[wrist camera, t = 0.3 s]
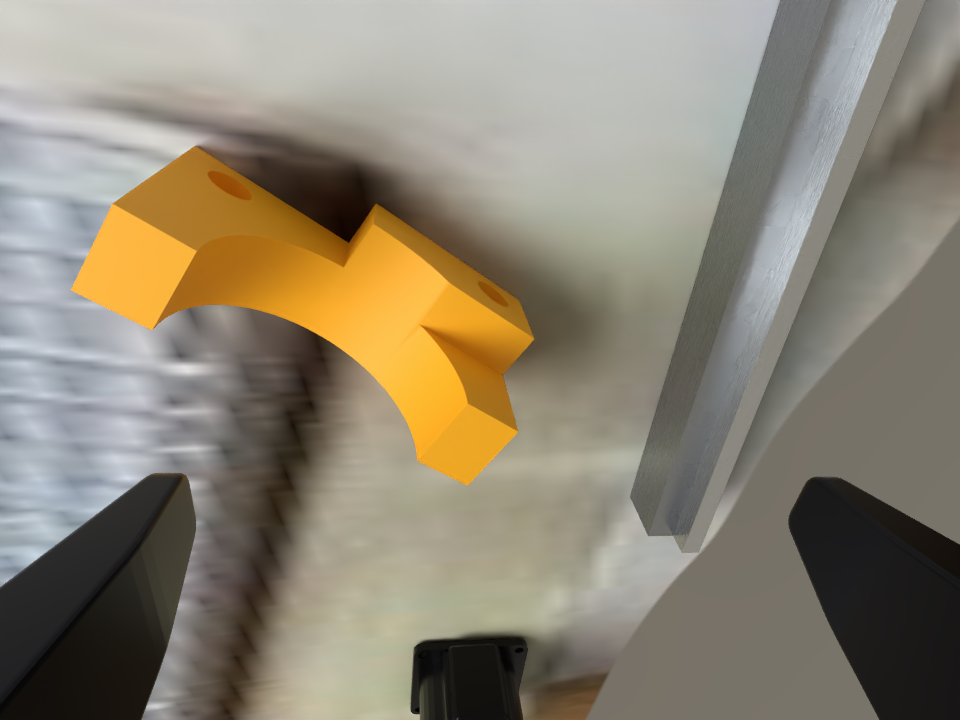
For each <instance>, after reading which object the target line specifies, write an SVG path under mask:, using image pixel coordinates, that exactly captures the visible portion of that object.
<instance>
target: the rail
mask: <svg viewBox="0 0 960 720" xmlns="http://www.w3.org/2000/svg"><path fill="white" fill-rule="evenodd" d="M924 2H925V0H780V4H779V7H778V10H777V14H776V17H775V20H774V23H773V27H772V30H771V33H770V37H769V40H768V43H767V47H766V50H765V53H764V57H763V60H762V63H761V66H760V70H759V73H758V76H757V80H756V83H755V86H754V90H753V93H752V96H751V99H750V103H749V106H748V109H747V113H746V116H745V119H744V123H743V126H742V129H741V133H740V136H739V139H738V142H737V146H736V149H735V152H734V156H733V159H732V162H731V166H730V169H729V172H728V175H727V179H726V182H725V185H724V189H723V192H722V195H721V199H720V202H719V205H718V209H717V212H716V215H715V218H714V222H713V225H712V228H711V232H710V235H709V238H708V242H707V245H706V248H705V251H704V255H703V258H702V261H701V265H700V268H699V271H698V275H697V278H696V281H695V285H694V288H693V291H692V294H691V298H690V301H689V304H688V308H687V311H686V314H685V318H684V321H683V324H682V327H681V331H680V334H679V337H678V341H677V344H676V347H675V351H674V354H673V357H672V361H671V364H670V367H669V370H668V374H667V377H666V380H665V384H664V387H663V390H662V394H661V397H660V400H659V403H658V407H657V410H656V413H655V417H654V420H653V423H652V427H651V430H650V433H649V437H648V440H647V443H646V446H645V450H644V453H643V456H642V460H641V463H640V466H639V470H638V473H637V476H636V479H635V483H634V486H633V489H632V493H631V496H630V498H631V500H632V502H633V504H634V506H635V508H636V511H637V513H638V515H639V517H640V519H641V521H642V523H643V526H644V528H645V530H646V532H647V534H648V536H674V538H675V540H676V542H677V544H678V546H679V548H680V550H681V552H682V553H692V552H699V550H700V548H701V545H702V543H703V541H704V538H705V536H706V533H707V531H708V528H709V526H710V524H711V521H712V519H713V516H714V514H715V511H716V509H717V507H718V504H719V502H720V499H721V497H722V494H723V492H724V489H725V487H726V485H727V482H728V480H729V477H730V475H731V472H732V470H733V468H734V465H735V463H736V460H737V458H738V455H739V453H740V450H741V448H742V446H743V443H744V441H745V438H746V436H747V433H748V431H749V429H750V426H751V424H752V421H753V419H754V416H755V414H756V412H757V409H758V407H759V404H760V402H761V399H762V397H763V394H764V392H765V390H766V387H767V385H768V382H769V380H770V377H771V375H772V373H773V370H774V368H775V365H776V363H777V360H778V358H779V356H780V353H781V351H782V348H783V346H784V343H785V341H786V338H787V336H788V334H789V331H790V329H791V326H792V324H793V321H794V319H795V317H796V314H797V312H798V309H799V307H800V304H801V302H802V300H803V297H804V295H805V292H806V290H807V287H808V285H809V282H810V280H811V278H812V275H813V273H814V270H815V268H816V265H817V263H818V261H819V258H820V256H821V253H822V251H823V248H824V246H825V244H826V241H827V239H828V236H829V234H830V231H831V229H832V226H833V224H834V222H835V219H836V217H837V214H838V212H839V209H840V207H841V205H842V202H843V200H844V197H845V195H846V192H847V190H848V187H849V185H850V183H851V180H852V178H853V175H854V173H855V170H856V168H857V166H858V163H859V161H860V158H861V156H862V153H863V151H864V149H865V146H866V144H867V141H868V139H869V136H870V134H871V131H872V129H873V127H874V124H875V122H876V119H877V117H878V114H879V112H880V110H881V107H882V105H883V102H884V100H885V97H886V95H887V93H888V90H889V88H890V85H891V83H892V80H893V78H894V75H895V73H896V71H897V68H898V66H899V63H900V61H901V58H902V56H903V54H904V51H905V49H906V46H907V44H908V41H909V39H910V37H911V34H912V32H913V29H914V27H915V24H916V22H917V19H918V17H919V15H920V12H921V10H922V7H923V5H924Z"/></svg>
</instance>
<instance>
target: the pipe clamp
mask: <svg viewBox="0 0 960 720" xmlns="http://www.w3.org/2000/svg"><path fill="white" fill-rule="evenodd" d="M71 291H73V292H75V293H77V294H79V295H81V296H83V297H85V298H87V299H89V300H91V301H93V302H95V303H97V304H99V305H101V306H104V307H106V308H108V309H110V310H112V311H114V312H116V313H118V314H120V315H122V316H124V317H126V318H128V319H130V320H132V321H134V322H136V323H138V324H140V325H142V326H144V327H146V328H148V329H150V330H153V329H154V328H155V327H156V326H157V325H158V323H160V322H161V321H162V320H164V319H165V318H166V317H168V316H170V315H172V314H174V313H175V312H178V311H181V310H184V309H186V308H191V307H195V306H202V305H233V306H240V307H246V308H251V309H256V310H260V311H263V312H267V313H270V314H274V315H276V316H279V317H282V318H285V319H287V320H290V321H292V322H294V323H297V324H299V325H301V326H303V327H305V328H307V329H309V330H311V331H313V332H315V333H316V334H318V335H320V336H322V337H323V338H325V339H327V340H328V341H330V342H332V343H333V344H335V345H336V346H337V347H339V348H340V349H342V350H343V351H345V352H346V353H347V354H348V355H350V356H351V357H352V358H354V359H355V360H356V361H357V362H358V363H360V364H361V365H362V366H363V367H364V368H365V369H366V370H367V371H368V372H369V373H370V374H372V375H373V376H374V378H375V379H376V380H377V381H378V382H379V383H380V384H381V385H382V386H383V387H384V389H385V390H386V391H387V392H388V393H389V395H390V396H391V397H392V399H393V400H394V401H395V403H396V404H397V406H398V408H399V409H400V411H401V412H402V414H403V416H404V418H405V420H406V421H407V424H408V426H409V428H410V430H411V433H412V436H413V439H414V442H415V447H416V451H417V460H418V462H420V463H423V464H425V465H427V466H429V467H431V468H433V469H435V470H437V471H439V472H441V473H443V474H445V475H447V476H449V477H451V478H453V479H455V480H457V481H459V482H461V483H463V484H465V485H467V486H468V485H469V484H470V482H471V481H472V480H473V479H474V478H475V477H476V476H477V475H478V474H479V473H480V472H481V471H482V470H483V469H484V468H485V467H486V466H487V464H488V463H489V462H490V461H491V460H492V459H493V458H494V457H495V456H496V455H497V454H498V453H499V452H500V451H501V450H502V449H503V448H504V446H505V445H506V444H507V443H508V442H509V441H510V440H511V439H512V438H513V437H514V436H515V435H516V434H517V433H518V429H517V425H516V422H515V418H514V414H513V411H512V407H511V403H510V400H509V396H508V392H507V389H506V385H505V382H504V378H503V374H504V373H505V372H506V371H507V369H508V368H509V367H510V366H511V365H512V364H513V363H514V362H515V360H516V359H517V358H518V357H519V356H520V355H521V354H522V353H523V351H524V350H525V349H526V348H527V347H528V346H529V345H530V343H531V342H532V341H533V340H534V336H533V334H532V331H531V329H530V326H529V324H528V321H527V319H526V316H525V314H524V311H523V309H522V306H521V304H520V301H519V300H518V299H516V298H515V297H513V296H512V295H511V294H509V293H508V292H506V291H505V290H503V289H502V288H500V287H499V286H497V285H496V284H494V283H493V282H491V281H490V280H488V279H487V278H486V277H484V276H483V275H481V274H480V273H478V272H477V271H475V270H474V269H472V268H471V267H469V266H468V265H466V264H465V263H463V262H462V261H461V260H459V259H458V258H456V257H455V256H453V255H452V254H450V253H449V252H447V251H446V250H444V249H443V248H441V247H440V246H438V245H437V244H436V243H434V242H433V241H431V240H430V239H428V238H427V237H425V236H424V235H422V234H421V233H419V232H418V231H416V230H415V229H413V228H412V227H411V226H409V225H408V224H406V223H405V222H403V221H402V220H400V219H399V218H397V217H396V216H394V215H393V214H391V213H390V212H388V211H387V210H386V209H384V208H383V207H381V206H380V205H378V204H377V203H376V204H375V205H374V207H373V208H372V210H371V211H370V213H369V214H368V216H367V217H366V219H365V220H364V222H363V223H362V225H361V226H360V228H359V229H358V230H357V232H356V233H355V235H354V236H353V238H352V239H351V241H350V242H349V243H348V242H346V241H345V240H343V239H342V238H340V237H338V236H337V235H335V234H334V233H332V232H331V231H329V230H327V229H326V228H324V227H323V226H321V225H320V224H318V223H316V222H315V221H313V220H312V219H310V218H309V217H307V216H305V215H304V214H302V213H301V212H299V211H297V210H296V209H294V208H293V207H291V206H290V205H288V204H286V203H285V202H283V201H282V200H280V199H279V198H277V197H275V196H274V195H272V194H271V193H269V192H268V191H266V190H264V189H263V188H261V187H260V186H258V185H257V184H255V183H253V182H252V181H250V180H249V179H247V178H245V177H244V176H242V175H241V174H239V173H238V172H236V171H234V170H233V169H231V168H230V167H228V166H227V165H225V164H223V163H222V162H220V161H219V160H217V159H216V158H214V157H212V156H211V155H209V154H208V153H206V152H204V151H203V150H201V149H200V148H198V147H197V146H194V147H193V148H191V149H190V150H189V151H187V152H186V153H184V154H183V155H181V156H180V157H179V158H177V159H176V160H174V161H173V162H171V163H170V164H169V165H167V166H166V167H164V168H163V169H161V170H160V171H159V172H157V173H156V174H154V175H153V176H151V177H150V178H149V179H147V180H146V181H144V182H143V183H141V184H140V185H139V186H137V187H136V188H134V189H133V190H131V191H130V192H129V193H127V194H126V195H124V196H123V197H121V198H120V199H119V200H117V201H116V202H114V203H113V204H112V206H111V208H110V210H109V212H108V214H107V216H106V218H105V220H104V223H103V225H102V227H101V229H100V231H99V233H98V235H97V237H96V239H95V241H94V243H93V245H92V247H91V249H90V252H89V254H88V256H87V258H86V260H85V262H84V264H83V266H82V268H81V270H80V272H79V274H78V276H77V278H76V281H75V283H74V285H73V287H72V289H71Z"/></svg>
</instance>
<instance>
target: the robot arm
mask: <svg viewBox="0 0 960 720" xmlns="http://www.w3.org/2000/svg"><path fill="white" fill-rule="evenodd" d="M788 521H789V529H790V532H791V535H792V537H793V539H794V542H795V544H796V547H797V549H798V551H799V554H800V556H801V559H802V561H803V563H804V566H805V568H806V571H807V573H808V575H809V578H810V580H811V583H812V585H813V587H814V590H815V592H816V595H817V597H818V599H819V601H820V604H821V606H822V609H823V611H824V613H825V616H826V618H827V620H828V622H829V624H830V626H831V628H832V630H833V632H834V634H835V636H836V638H837V640H838V642H839V644H840V646H841V648H842V650H843V652H844V654H845V656H846V657H847V659H848V661H849V663H850V665H851V667H852V668H853V670H854V673H855V674H856V676H857V678H858V680H859V682H860V684H861V685H862V688H863V689H864V691H865V693H866V695H867V697H868V699H869V701H870V703H871V704H872V707H873V708H874V710H875V712H876V714H877V716H878V718H879V720H960V545H959V544H958V543H956V542H954V541H952V540H950V539H949V538H946V537H945V536H943V535H942V534H940V533H938V532H936V531H934V530H933V529H931V528H929V527H927V526H925V525H924V524H922V523H920V522H918V521H916V520H915V519H913V518H911V517H909V516H908V515H906V514H904V513H902V512H901V511H899V510H897V509H895V508H893V507H892V506H890V505H888V504H886V503H884V502H882V501H881V500H879V499H877V498H875V497H874V496H872V495H870V494H868V493H867V492H865V491H863V490H861V489H859V488H857V487H856V486H854V485H852V484H851V483H849V482H847V481H845V480H843V479H841V478H838V477H813V478H811V479H809V480H808V481H807V482H806V484H805V485H804V487H803V489H802V491H801V493H800V495H799V497H798V499H797V501H796V503H795V504H794V507H793V508H792V510H791V512H790V515H789V520H788ZM195 532H196V516H195V511H194V506H193V500H192V495H191V490H190V484H189V480H188V478H187V477H186V476H185V475H184V474H181V473H154V474H151V475H149V476H147V477H145V478H144V479H143V480H141V481H140V482H139V483H138V484H136V485H135V486H134V487H132V488H131V489H130V490H128V491H127V492H126V493H124V494H123V495H122V496H120V497H119V498H118V499H116V500H115V501H114V502H112V503H111V504H110V505H108V506H107V507H106V508H104V509H103V510H102V511H100V512H99V513H98V514H96V515H95V516H94V517H93V518H91V519H90V520H89V521H87V522H86V523H85V524H83V525H82V526H81V527H79V528H78V529H77V530H75V531H74V532H73V533H71V534H70V535H69V536H67V537H66V538H65V539H63V540H62V541H61V542H59V543H58V544H57V545H55V546H54V547H53V548H51V549H50V550H49V551H48V552H46V553H45V554H44V555H42V556H41V557H40V558H38V559H37V560H36V561H34V562H33V563H32V564H30V565H29V566H28V567H26V568H25V569H24V570H22V571H21V572H20V573H18V574H17V575H16V576H14V577H13V578H12V579H10V580H9V581H8V582H6V583H5V584H4V585H3V586H1V587H0V720H141V719H142V717H143V714H144V711H145V709H146V706H147V703H148V700H149V698H150V695H151V692H152V690H153V687H154V684H155V681H156V679H157V676H158V673H159V671H160V668H161V665H162V662H163V659H164V656H165V653H166V650H167V647H168V643H169V639H170V635H171V632H172V628H173V624H174V619H175V615H176V611H177V607H178V603H179V599H180V595H181V591H182V587H183V583H184V578H185V574H186V570H187V566H188V562H189V558H190V554H191V550H192V546H193V542H194V537H195ZM527 651H528V648H527V642H526V641H525V640H524V639H500V640H481V641H462V642H442V643H423V644H419V645H416V646H415V647H414V652H413V669H412V687H411V712H412V713H413V714H420V720H523V715H522V709H521V703H520V697H519V687H520V683H521V678H522V674H523V669H524V665H525V660H526V656H527Z"/></svg>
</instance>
